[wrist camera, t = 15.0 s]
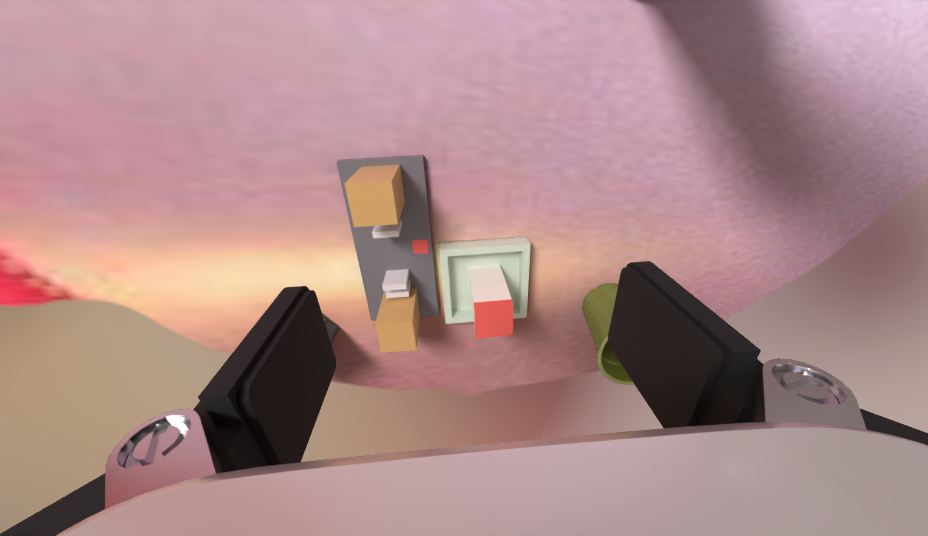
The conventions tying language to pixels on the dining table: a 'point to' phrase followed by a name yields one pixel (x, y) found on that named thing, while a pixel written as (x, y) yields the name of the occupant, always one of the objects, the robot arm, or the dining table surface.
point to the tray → (477, 253)
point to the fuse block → (392, 244)
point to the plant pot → (604, 331)
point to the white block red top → (490, 301)
